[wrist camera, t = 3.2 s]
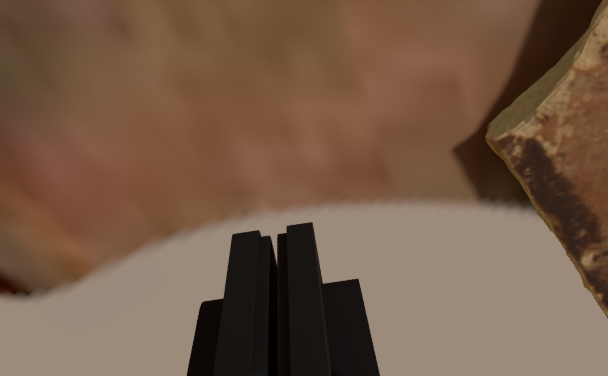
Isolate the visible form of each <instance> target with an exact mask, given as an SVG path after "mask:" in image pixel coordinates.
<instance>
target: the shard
mask: <svg viewBox="0 0 608 376" xmlns="http://www.w3.org/2000/svg"><path fill="white" fill-rule="evenodd" d="M485 139H486V142H487V144H488V145H489V146H490V148H491V149H492V150H493V151H494V152H495V153H496V154H497V155H498V156H499V157H501V158H502V159H503V160H504V162H505V163H506V165H507V167H508V169H509V170H510V172H511V173H512V174H513V175H514V176H515V177H516V179H517V180H518V181H519V182H520V184H521V186H522V188H523V190H524V191H525V192H526V194H527V195H528V197H529V199H530V201H531V203H532V205H533V207H534V208H535V209H536V211H537V214H538V215H539V216H540V217H541V218H542V219H543V221H544V222H545V223H546V225H547V226H548V228H549V229H550V230H551V231H552V232H553V233H554V234H555V235H556V237H557V238H558V240H559V241H560V243H561V245H562V246H563V248H564V249H565V250H566V254H567V255H568V257H569V258H570V259H571V261H572V262H573V264H574V266H575V267H576V269H577V270H578V272H579V273H580V275H581V277H582V281H583V284H584V287H585V288H587V289H588V290H589V291H590V292H591V293H592V294H593V296H594V298H595V300H596V301H597V303H598V305H599V306H600V307H601V309H602V310H603V312H604V313H605V315H606V316H607V318H608V0H602V2H601V3H600V5H599V6H598V8H597V10H596V12H595V14H594V16H593V18H592V20H591V23H590V27H589V28H588V29H587V31H586V32H585V33H584V34H583V36H582V37H581V38H580V39H579V40H578V41H577V42H576V43H575V44H574V45H573V46H572V47H571V48H570V49H569V50H568V51H567V52H566V54H565V55H564V56H563V57H562V58H561V59H560V60H559V62H558V63H557V64H556V65H555V66H554V67H553V68H551V69H549V70H548V71H547V72H546V73H545V74H544V75H543V76H542V77H541V78H540V79H539V80H538V81H536V82H535V83H534V84H533V85H532V86H530V87H529V88H528V89H527V90H526V91H525V92H524V93H522V94H521V95H520V96H519V97H518V98H516V99H515V101H514V102H513V103H512V104H511V105H510V106H509V107H507V108H506V109H504V110H503V111H502V112H501V113H500V114H499V115H498V116H497V117H496V118H495V119H494V120H493V121H492V122H490V123H489V124H488V126H487V133H486V136H485Z"/></svg>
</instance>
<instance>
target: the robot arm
mask: <svg viewBox="0 0 608 376" xmlns="http://www.w3.org/2000/svg"><path fill="white" fill-rule="evenodd" d="M277 247H278V248H277V249H278V250H277V252H278V253H277V255H278V256H277V264H276V259H275V254H274V250H273V245H272V241H271V237H270V236H263V237H261V234H260V231H259V230H257V231H251V232H244V233H237V234H233V235H232V241H231V248H230V255H229V263H228V270H227V277H226V284H225V292H224V299H218V300H211V301H204V302H203V303H202V304H201V306H200V310H199V315H198V320H197V325H196V331H195V336H194V340H193V346H192V351H191V357H190V361H189V366H188V372H187V376H380V374H379V370H378V365H377V361H376V356H375V351H374V347H373V342H372V338H371V333H370V329H369V324H368V320H367V315H366V311H365V306H364V302H363V297H362V293H361V288H360V284H359V280H358V279H352V280H346V281H340V282H332V283H325V284H323V282H322V276H321V270H320V265H319V258H318V253H317V246H316V241H315V235H314V229H313V223H312V222H311V223H303V224H296V225H290V226H287V233H283V234H278V237H277Z"/></svg>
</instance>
